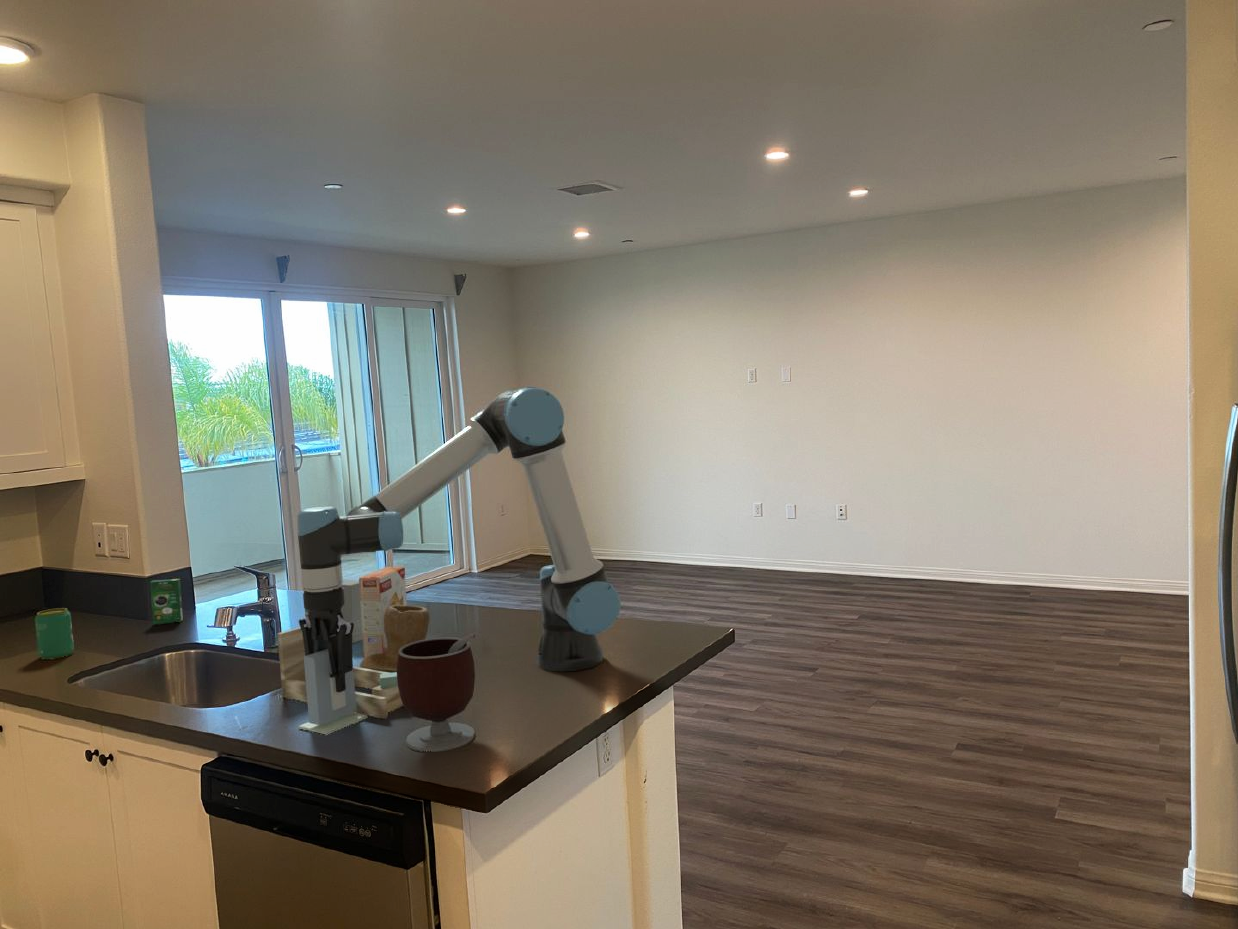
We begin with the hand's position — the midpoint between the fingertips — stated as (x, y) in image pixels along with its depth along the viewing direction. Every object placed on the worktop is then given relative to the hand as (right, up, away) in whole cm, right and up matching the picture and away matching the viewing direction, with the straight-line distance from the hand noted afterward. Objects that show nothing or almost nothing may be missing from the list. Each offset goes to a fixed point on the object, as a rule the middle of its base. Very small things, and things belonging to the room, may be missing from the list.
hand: (332, 705), depth 175 cm
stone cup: (+5, -1, +34) cm, 35 cm away
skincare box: (-16, 0, +63) cm, 65 cm away
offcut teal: (+10, +2, +9) cm, 13 cm away
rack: (0, -2, +15) cm, 15 cm away
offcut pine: (+9, 0, +9) cm, 13 cm away
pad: (0, -3, 0) cm, 4 cm away
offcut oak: (+10, -3, +9) cm, 14 cm away
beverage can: (-93, -4, +63) cm, 112 cm away
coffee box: (-79, -1, +94) cm, 123 cm away
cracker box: (-1, 0, +47) cm, 47 cm away
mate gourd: (+24, -3, -11) cm, 27 cm away
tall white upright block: (0, -2, 0) cm, 2 cm away
